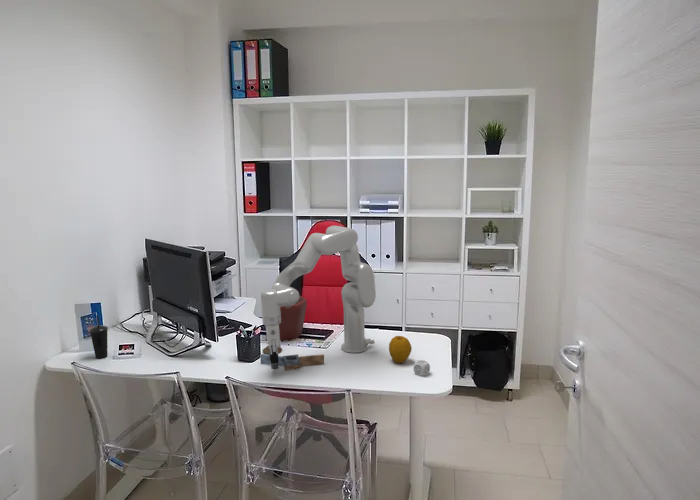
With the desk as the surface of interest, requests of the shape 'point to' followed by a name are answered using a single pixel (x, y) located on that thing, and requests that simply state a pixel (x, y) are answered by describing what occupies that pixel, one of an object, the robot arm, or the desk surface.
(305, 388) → the desk surface
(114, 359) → the desk surface
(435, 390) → the desk surface
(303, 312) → the bucket
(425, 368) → the die
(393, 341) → the apple
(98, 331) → the drinking cup
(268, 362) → the hammer
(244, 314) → the desk surface
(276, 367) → the pin
